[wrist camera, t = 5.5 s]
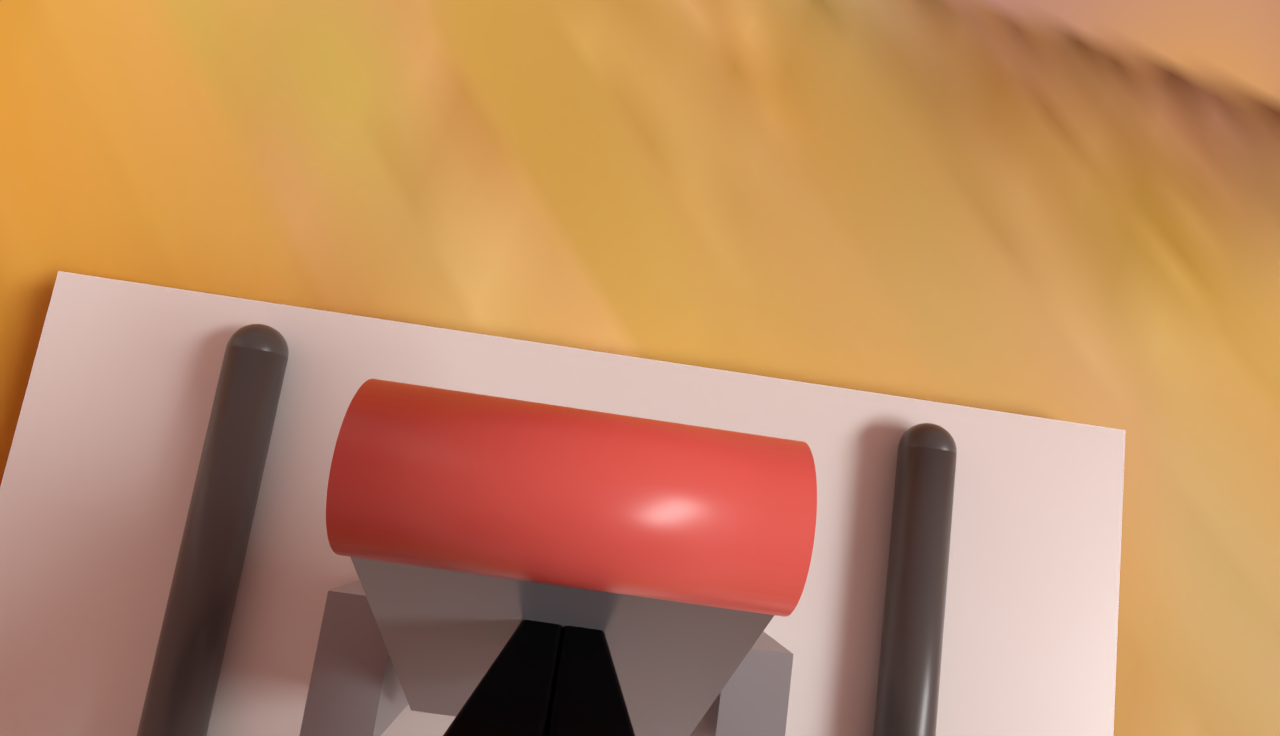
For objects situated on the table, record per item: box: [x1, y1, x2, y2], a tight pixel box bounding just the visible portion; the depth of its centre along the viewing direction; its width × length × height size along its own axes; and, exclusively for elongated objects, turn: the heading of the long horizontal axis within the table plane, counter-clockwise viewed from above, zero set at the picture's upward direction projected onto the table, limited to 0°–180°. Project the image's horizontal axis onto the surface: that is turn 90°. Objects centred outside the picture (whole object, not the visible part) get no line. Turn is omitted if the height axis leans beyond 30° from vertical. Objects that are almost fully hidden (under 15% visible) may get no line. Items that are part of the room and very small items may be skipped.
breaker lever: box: [326, 379, 817, 736], centre depth 10 cm, size 2×4×7 cm, turn 82°
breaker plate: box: [0, 271, 1126, 736], centre depth 13 cm, size 12×20×4 cm, turn 82°
